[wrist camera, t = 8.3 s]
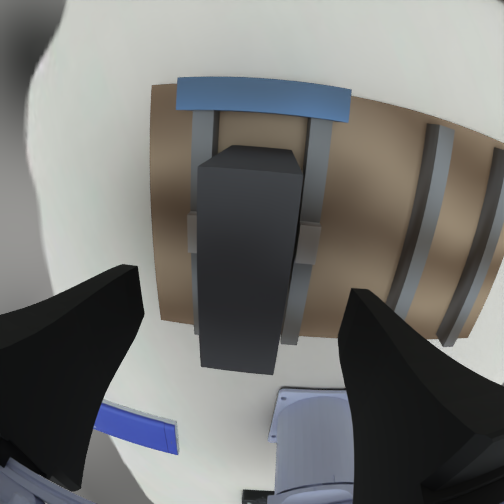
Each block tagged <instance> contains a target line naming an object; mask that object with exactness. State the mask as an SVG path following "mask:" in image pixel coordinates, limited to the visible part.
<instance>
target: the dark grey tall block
mask: <svg viewBox="0 0 504 504" xmlns="http://www.w3.org/2000/svg"><path fill="white" fill-rule="evenodd" d="M302 183H303V173H302V171H301V169H300V167H299V165H298V162H297V160H296V158H295V156H294V154H293V152H292V150H288V149H279V148H268V147H256V146H243V145H231V146H230V147H228V148H226V149H225V150H223V151H221V152H220V153H218V154H217V155H215V156H213V157H212V158H210V159H209V160H207V161H205V162H204V163H202V164H201V165H199V166H198V169H197V291H198V320H199V341H200V359H201V367H207V368H214V369H221V370H229V371H237V372H246V373H256V374H266V375H273V373H274V368H275V362H276V357H277V351H278V345H279V340H280V334H281V328H282V322H283V316H284V310H285V304H286V298H287V291H288V285H289V279H290V272H291V265H292V258H293V251H294V244H295V237H296V230H297V223H298V215H299V207H300V199H301V191H302Z"/></svg>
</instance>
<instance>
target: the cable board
mask: <svg viewBox="0 0 504 504" xmlns="http://www.w3.org/2000/svg"><path fill="white" fill-rule="evenodd" d="M351 91H352V90H351V89H345V88H340V87H334V86H327V85H321V84H314V83H306V82H298V81H289V80H278V79H265V78H248V77H180V78H178V81H177V84H164V85H152V90H151V113H150V193H151V217H152V233H153V247H154V260H155V271H156V281H157V290H158V299H159V307H160V315H161V320H166V321H172V322H179V323H185V324H192V325H194V333H195V334H196V335H199V320H198V291H197V169H198V166H199V165H201V164H202V163H204V162H205V161H207V160H209V159H210V158H212V157H213V156H215V155H217V154H218V153H220V152H221V151H223V150H225V149H226V148H228V147H230V146H231V145H243V146H256V147H268V148H279V149H288V150H292V152H293V154H294V156H295V158H296V160H297V162H298V165H299V167H300V169H301V171H302V173H303V183H302V191H301V199H300V207H299V215H298V223H297V230H296V237H295V244H294V251H293V258H292V265H291V272H290V279H289V285H288V291H287V298H286V304H285V310H284V316H283V322H282V328H281V344H287V345H297V342H298V337H299V336H309V337H326V338H338V332H339V329H340V326H341V322H342V319H343V316H344V312H345V309H346V305H347V302H348V298H349V294H350V291H351V288H360V289H369V290H370V291H371V292H373V293H374V294H375V295H376V296H378V297H379V298H380V299H381V300H382V301H383V302H384V303H385V304H386V305H388V306H389V307H390V308H391V309H392V310H393V311H394V312H395V313H396V314H397V315H398V316H400V317H401V318H402V319H403V320H404V321H405V322H406V323H407V324H408V325H410V326H411V327H412V328H413V329H414V330H415V331H417V332H418V333H419V334H420V335H421V336H423V337H424V338H425V339H439V341H440V343H441V344H442V346H443V347H452V346H453V345H454V343H455V341H456V340H457V338H468V336H469V334H470V332H471V330H472V328H473V326H474V324H475V322H476V320H477V318H478V316H479V314H480V312H481V310H482V308H483V306H484V304H485V301H486V299H487V297H488V295H489V292H490V290H491V288H492V285H493V283H494V280H495V278H496V275H497V273H498V270H499V267H500V265H501V262H502V259H503V256H504V143H502V142H499V141H497V140H495V139H492V138H490V137H488V136H485V135H483V134H481V133H478V132H476V131H473V130H470V129H468V128H465V127H462V126H460V125H457V124H454V123H451V122H448V121H445V120H442V119H439V118H436V117H433V116H430V115H427V114H423V113H420V112H417V111H413V110H410V109H406V108H402V107H398V106H394V105H390V104H386V103H382V102H378V101H373V100H369V99H364V98H359V97H354V96H351Z"/></svg>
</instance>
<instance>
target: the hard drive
mask: <svg viewBox="0 0 504 504" xmlns="http://www.w3.org/2000/svg"><path fill="white" fill-rule="evenodd" d="M93 429H96V430H98V431H101V432H104V433H106V434H109V435H111V436H114V437H117V438H120V439H123V440H126V441H129V442H132V443H135V444H138V445H142V446H145V447H148V448H152V449H155V450H159V451H163V452H167V453H171V454H175V455H178V454H179V442H178V433H177V421H174V420H170V419H166V418H163V417H159V416H155V415H152V414H148V413H145V412H141V411H138V410H135V409H131V408H128V407H125V406H122V405H119V404H116V403H113V402H110V401H107V400H105V399H103V401H102V404H101V406H100V409H99V412H98V415H97V418H96V421H95V424H94V427H93Z"/></svg>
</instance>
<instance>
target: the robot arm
mask: <svg viewBox="0 0 504 504" xmlns="http://www.w3.org/2000/svg"><path fill="white" fill-rule="evenodd" d="M143 317H144V308H143V301H142V294H141V287H140V280H139V272H138V266H133V265H125V264H122V265H119V266H116V267H114V268H111V269H109V270H107V271H105V272H103V273H101V274H99V275H97V276H94V277H92V278H90V279H88V280H86V281H84V282H82V283H80V284H78V285H76V286H74V287H72V288H70V289H68V290H66V291H64V292H62V293H59V294H57V295H55V296H53V297H51V298H49V299H46V300H44V301H41V302H39V303H36V304H33V305H31V306H28V307H25V308H22V309H19V310H16V311H12V312H9V313H5V314H2V315H0V504H45V502H46V503H47V504H97V503H94V502H92V501H89V500H87V499H85V498H83V497H80V496H78V495H76V494H74V493H72V491H77V490H79V489H81V484H82V477H83V470H84V464H85V459H86V454H87V450H88V446H89V442H90V438H91V434H92V431H93V427H94V424H95V421H96V418H97V415H98V412H99V409H100V406H101V404H102V401H103V398H104V395H105V393H106V391H107V389H108V387H109V384H110V382H111V381H112V379H113V377H114V375H115V373H116V371H117V370H118V368H119V366H120V364H121V362H122V361H123V359H124V357H125V355H126V353H127V352H128V350H129V348H130V346H131V344H132V343H133V341H134V339H135V337H136V335H137V332H138V330H139V327H140V325H141V322H142V319H143ZM338 347H339V358H340V364H341V369H342V373H343V378H344V383H345V387H346V390H304V389H281V390H279V393H278V397H277V402H276V406H275V410H274V415H273V419H272V423H271V427H270V431H269V435H268V441H269V442H272V443H277V451H276V473H275V492H274V495H269V496H268V498H267V504H504V387H503V386H502V385H499V384H497V383H495V382H493V381H490V380H488V379H487V378H485V377H483V376H481V375H479V374H477V373H475V372H473V371H472V370H470V369H468V368H467V367H465V366H463V365H461V364H460V363H458V362H457V361H455V360H454V359H452V358H451V357H449V356H448V355H446V354H445V353H444V352H442V351H441V350H439V349H438V348H436V347H435V346H434V345H433V344H431V343H430V342H429V341H427V340H426V339H425V338H424V337H423V336H421V335H420V334H419V333H418V332H417V331H415V330H414V329H413V328H412V327H411V326H410V325H408V324H407V323H406V322H405V321H404V320H403V319H402V318H401V317H400V316H398V315H397V314H396V313H395V312H394V311H393V310H392V309H391V308H390V307H389V306H388V305H386V304H385V303H384V302H383V301H382V300H381V299H380V298H379V297H378V296H376V295H375V294H374V293H373V292H371V291H370V290H369V289H360V288H351V291H350V294H349V298H348V302H347V305H346V309H345V312H344V316H343V319H342V322H341V326H340V329H339V332H338ZM40 475H41V476H40ZM43 477H44V478H43ZM45 478H46V479H45ZM47 479H48V480H50V481H52V482H54V483H56V484H57V485H56V484H54V483H52V482H50V481H48V480H47ZM58 485H59V486H58ZM60 486H61V487H60ZM62 487H64V488H65V489H64V488H62ZM66 489H68V490H69V491H68V490H66ZM70 491H71V492H70Z"/></svg>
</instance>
